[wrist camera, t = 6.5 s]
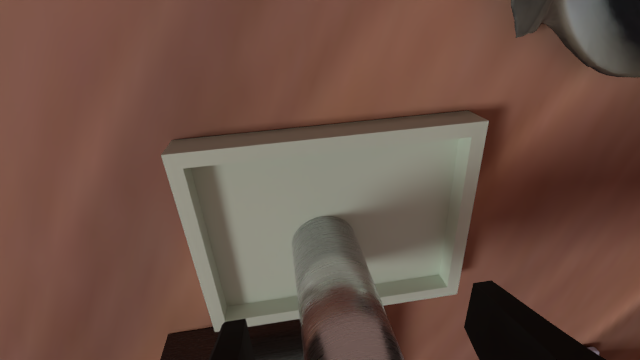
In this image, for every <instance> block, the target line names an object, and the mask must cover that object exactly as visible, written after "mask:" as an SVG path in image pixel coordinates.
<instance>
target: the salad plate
mask: <svg viewBox="0 0 640 360" xmlns="http://www.w3.org/2000/svg"><path fill="white" fill-rule="evenodd" d="M511 8H512V12H513V16H514V20H515V31H516V38H517V37H521V36H524V35H526V34H528V33H533V32H535V31H536V30H537V29H538V27H539V26H540V24H541V23H544V24H546V25H547V26H549V27H550V28H551V29H552V30H553V31H554V32H555V33H556V34H557V36H558V37H559V38H560V40H561V41H562V42H563V44H564V45H565V46H566V47H567V48H568V49H569V50H570V51H571V52H572V53H573V54H574V55H575V56H576V57H577V58H578V59H580V60H581V62H583V63H584V64H585V65H586V66H588V67H591V68H593V69H594V70H596V71H597V72H600V73H602V74H605V75H609V76H615V77H640V0H511Z"/></svg>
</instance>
